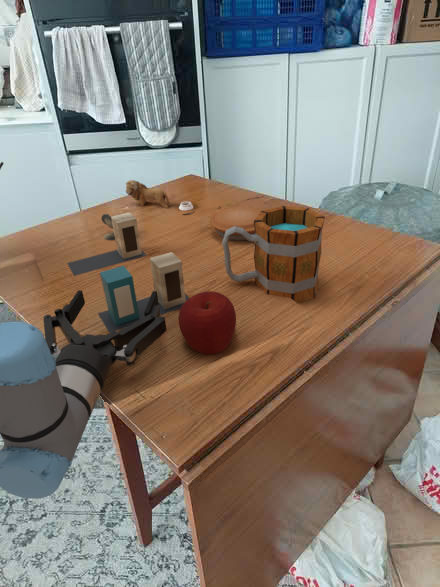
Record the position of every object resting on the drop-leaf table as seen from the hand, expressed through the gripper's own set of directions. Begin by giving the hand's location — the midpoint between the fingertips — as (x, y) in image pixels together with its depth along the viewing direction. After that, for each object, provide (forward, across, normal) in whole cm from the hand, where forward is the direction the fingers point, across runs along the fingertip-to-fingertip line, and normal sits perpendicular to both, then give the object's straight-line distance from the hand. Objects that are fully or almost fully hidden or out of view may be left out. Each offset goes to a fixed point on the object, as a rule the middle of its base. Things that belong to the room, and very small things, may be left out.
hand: (118, 297), depth 77 cm
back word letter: (+26, -6, -5) cm, 27 cm away
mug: (+14, +28, -6) cm, 31 cm away
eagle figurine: (+36, -12, -6) cm, 39 cm away
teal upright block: (+1, 0, -5) cm, 5 cm away
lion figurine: (+56, -7, -6) cm, 57 cm away
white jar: (+54, +4, -6) cm, 55 cm away
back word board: (+23, -10, -6) cm, 26 cm away
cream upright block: (+6, +8, -5) cm, 11 cm away
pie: (+41, +20, -6) cm, 46 cm away
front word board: (+3, +4, -6) cm, 8 cm away
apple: (-6, +17, -6) cm, 19 cm away
